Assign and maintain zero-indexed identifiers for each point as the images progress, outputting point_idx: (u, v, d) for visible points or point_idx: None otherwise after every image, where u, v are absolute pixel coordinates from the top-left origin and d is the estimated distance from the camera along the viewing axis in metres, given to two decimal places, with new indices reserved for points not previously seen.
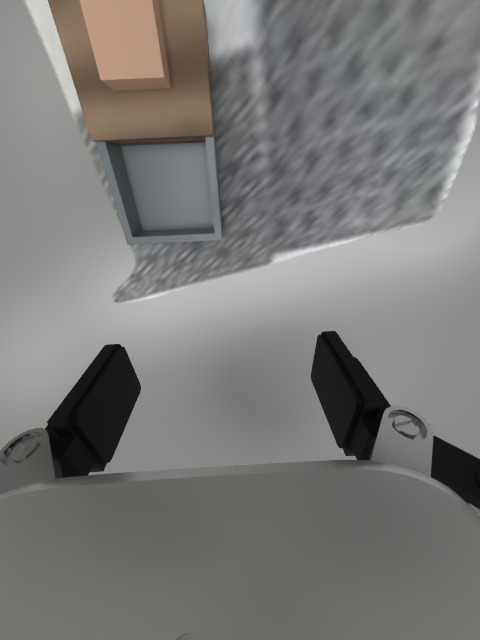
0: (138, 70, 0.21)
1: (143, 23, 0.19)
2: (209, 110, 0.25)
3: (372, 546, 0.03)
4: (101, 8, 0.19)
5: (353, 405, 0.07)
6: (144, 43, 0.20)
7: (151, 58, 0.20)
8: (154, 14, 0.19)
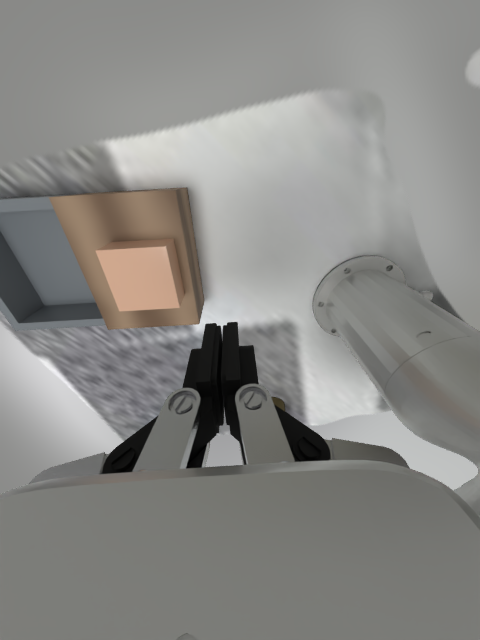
0: (116, 290, 0.21)
1: (149, 300, 0.22)
2: (125, 327, 0.27)
3: (372, 546, 0.03)
4: (149, 266, 0.20)
5: None
6: (137, 298, 0.21)
7: (128, 303, 0.22)
8: None
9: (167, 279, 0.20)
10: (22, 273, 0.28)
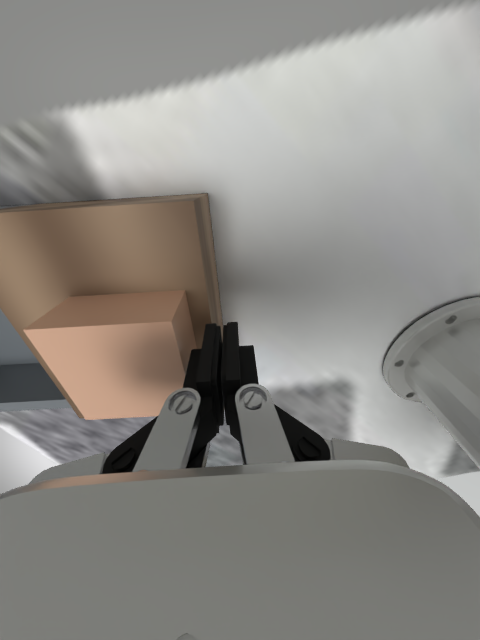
0: (76, 391, 0.11)
1: (140, 404, 0.12)
2: None
3: (372, 546, 0.03)
4: (138, 355, 0.10)
5: None
6: (117, 402, 0.11)
7: (101, 408, 0.12)
8: None
9: (173, 374, 0.10)
10: None
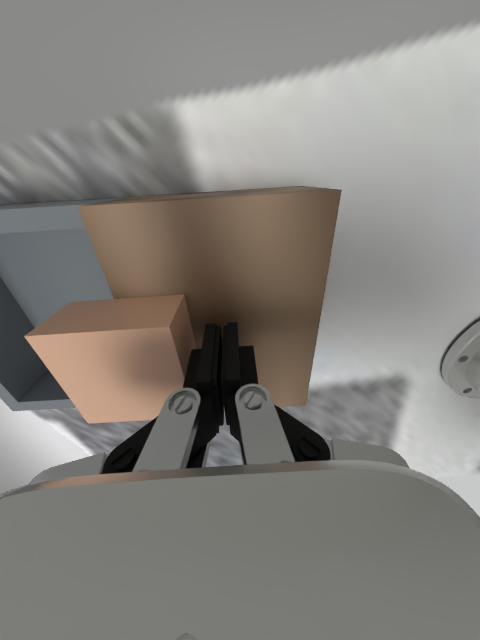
0: (78, 395, 0.11)
1: (141, 407, 0.12)
2: None
3: (372, 546, 0.03)
4: (138, 360, 0.10)
5: None
6: (117, 406, 0.12)
7: (103, 412, 0.12)
8: (157, 415, 0.12)
9: (173, 379, 0.11)
10: (24, 320, 0.18)
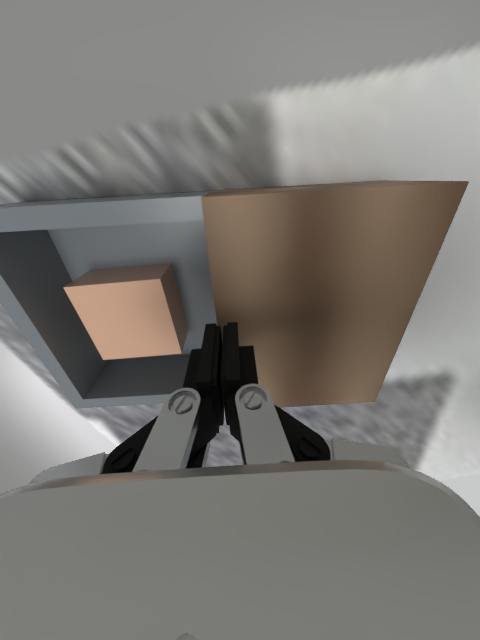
0: None
1: None
2: None
3: (372, 546, 0.03)
4: None
5: None
6: None
7: None
8: None
9: None
10: None
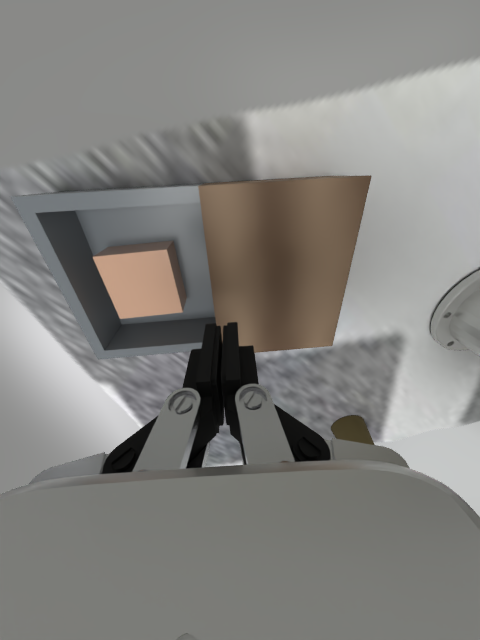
0: None
1: None
2: None
3: (372, 546, 0.03)
4: None
5: None
6: None
7: None
8: None
9: None
10: (103, 286, 0.22)
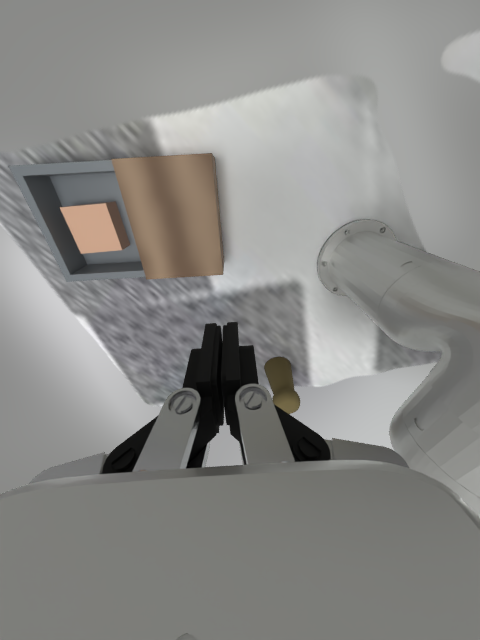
0: None
1: None
2: (160, 277, 0.32)
3: (372, 546, 0.03)
4: None
5: None
6: None
7: None
8: None
9: None
10: None
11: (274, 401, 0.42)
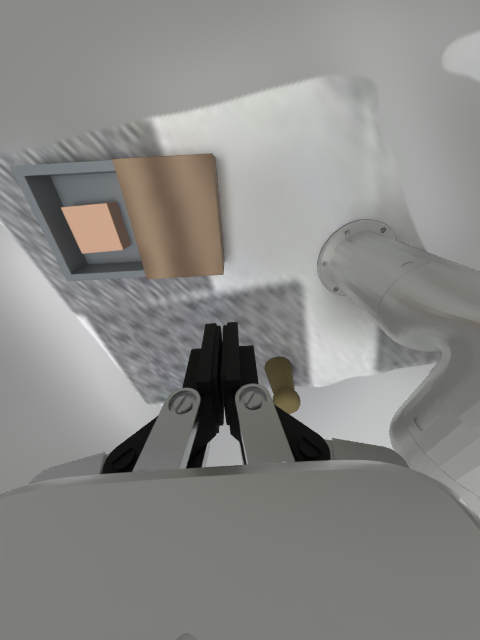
0: None
1: None
2: (161, 277, 0.32)
3: (372, 546, 0.03)
4: None
5: None
6: None
7: None
8: None
9: None
10: None
11: (274, 401, 0.42)
